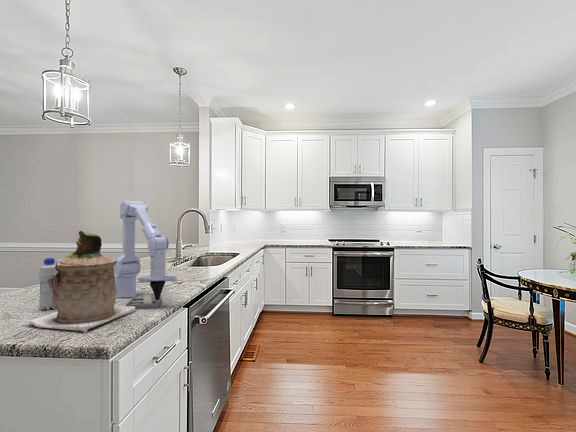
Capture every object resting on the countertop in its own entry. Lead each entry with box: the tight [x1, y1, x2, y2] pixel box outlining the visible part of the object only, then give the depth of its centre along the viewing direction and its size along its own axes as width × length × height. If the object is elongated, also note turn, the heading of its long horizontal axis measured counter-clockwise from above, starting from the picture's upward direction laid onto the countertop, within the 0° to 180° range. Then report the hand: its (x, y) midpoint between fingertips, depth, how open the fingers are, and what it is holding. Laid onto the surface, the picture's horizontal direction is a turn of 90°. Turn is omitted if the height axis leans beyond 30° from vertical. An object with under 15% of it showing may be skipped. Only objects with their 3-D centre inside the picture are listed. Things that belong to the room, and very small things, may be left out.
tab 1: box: [142, 294, 153, 304], centre depth 127 cm, size 3×2×4 cm
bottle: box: [38, 257, 58, 311], centre depth 124 cm, size 7×7×20 cm
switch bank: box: [125, 296, 163, 310], centre depth 129 cm, size 12×10×2 cm
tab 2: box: [147, 291, 155, 300], centre depth 133 cm, size 3×2×4 cm
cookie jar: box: [26, 229, 136, 333], centre depth 113 cm, size 25×25×32 cm
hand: (157, 299), depth 128 cm, fingers closed
